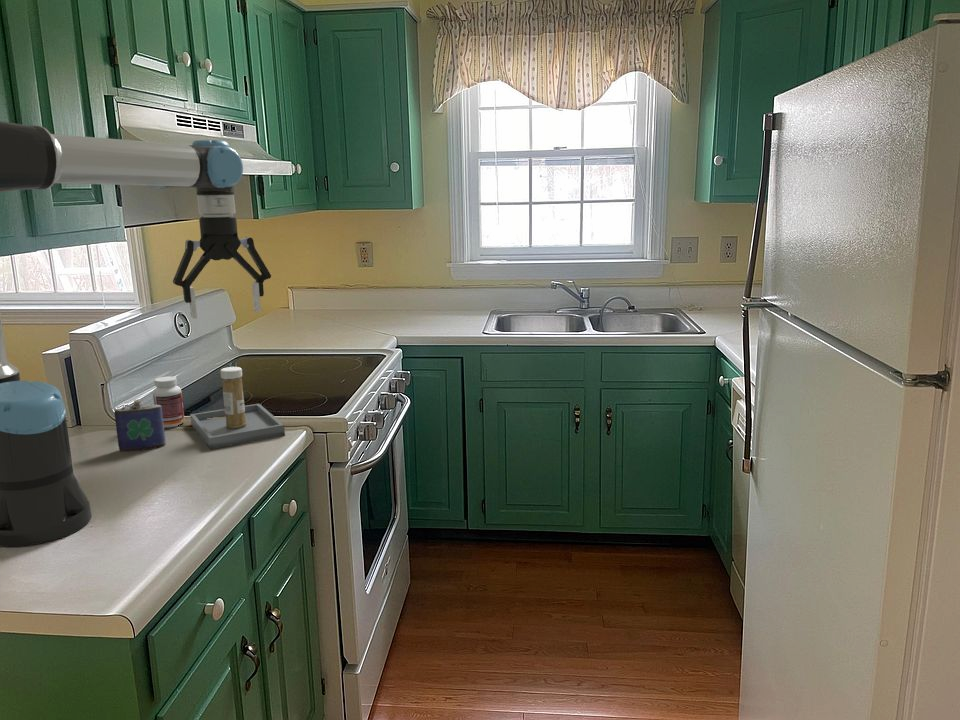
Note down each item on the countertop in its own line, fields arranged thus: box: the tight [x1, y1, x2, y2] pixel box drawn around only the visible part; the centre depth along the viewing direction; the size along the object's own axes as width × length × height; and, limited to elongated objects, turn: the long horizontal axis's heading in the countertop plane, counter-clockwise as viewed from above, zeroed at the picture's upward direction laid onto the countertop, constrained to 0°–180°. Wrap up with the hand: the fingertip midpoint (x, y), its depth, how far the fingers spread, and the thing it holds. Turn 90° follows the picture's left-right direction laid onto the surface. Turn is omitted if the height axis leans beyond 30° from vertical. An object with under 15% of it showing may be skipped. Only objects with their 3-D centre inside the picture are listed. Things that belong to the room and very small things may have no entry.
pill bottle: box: [152, 375, 185, 429], centre depth 176 cm, size 6×6×11 cm
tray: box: [189, 403, 286, 450], centre depth 172 cm, size 16×20×2 cm
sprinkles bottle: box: [220, 366, 247, 429], centre depth 170 cm, size 5×5×13 cm
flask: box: [114, 399, 167, 453], centre depth 160 cm, size 9×3×11 cm, turn 112°
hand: (226, 314), depth 166 cm, fingers open, 13 cm apart
